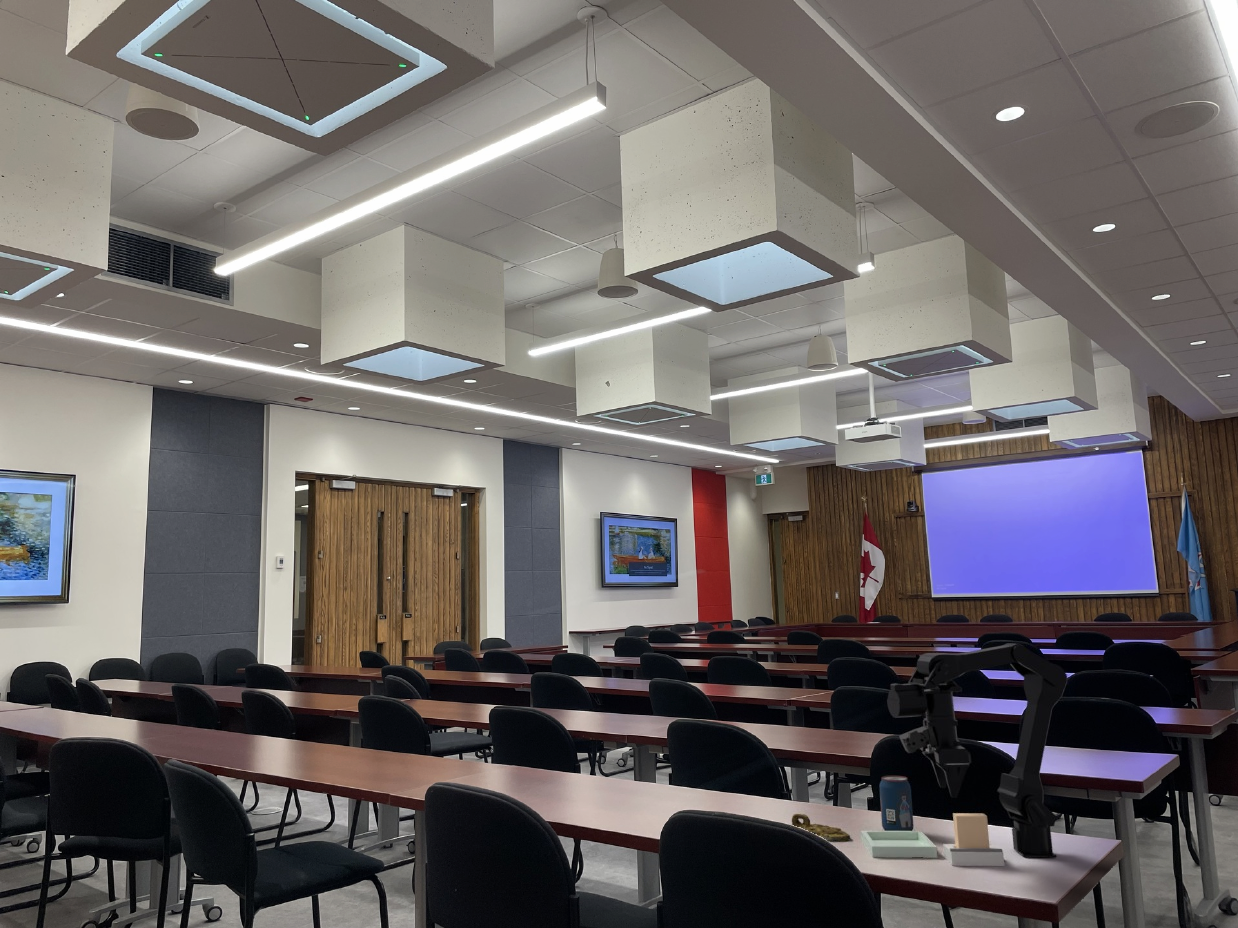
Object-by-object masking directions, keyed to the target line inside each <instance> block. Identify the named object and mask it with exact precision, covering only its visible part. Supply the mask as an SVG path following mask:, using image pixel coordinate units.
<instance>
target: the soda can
mask: <svg viewBox="0 0 1238 928" xmlns="http://www.w3.org/2000/svg"><path fill="white" fill-rule="evenodd" d="M879 798H880V799H879V801H880V814H881V815H880V816H881V826H882V828H883V831H914V828H915V827H914V825H915V824H914V814H913V801H912V788H911V785H910V783H909V780H908V777H906V776H902V775H883V776H882V777H881V781H880V782H879Z"/></svg>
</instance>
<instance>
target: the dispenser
mask: <svg viewBox="0 0 1238 928" xmlns="http://www.w3.org/2000/svg"><path fill="white" fill-rule="evenodd" d="M942 846H943V847H942V849H943V858H945V860H946V861H947V862H948V863H949V864H950V865H951V866H954V867H955V866H957V867H958V866H960V867H1005V857H1004V855H1005V854H1004V852H1003V849H1002V848H998V847H997V846H996V845H995V844H990V843H989V846H990V849H983V848H956V845H955V843H943V844H942Z"/></svg>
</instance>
